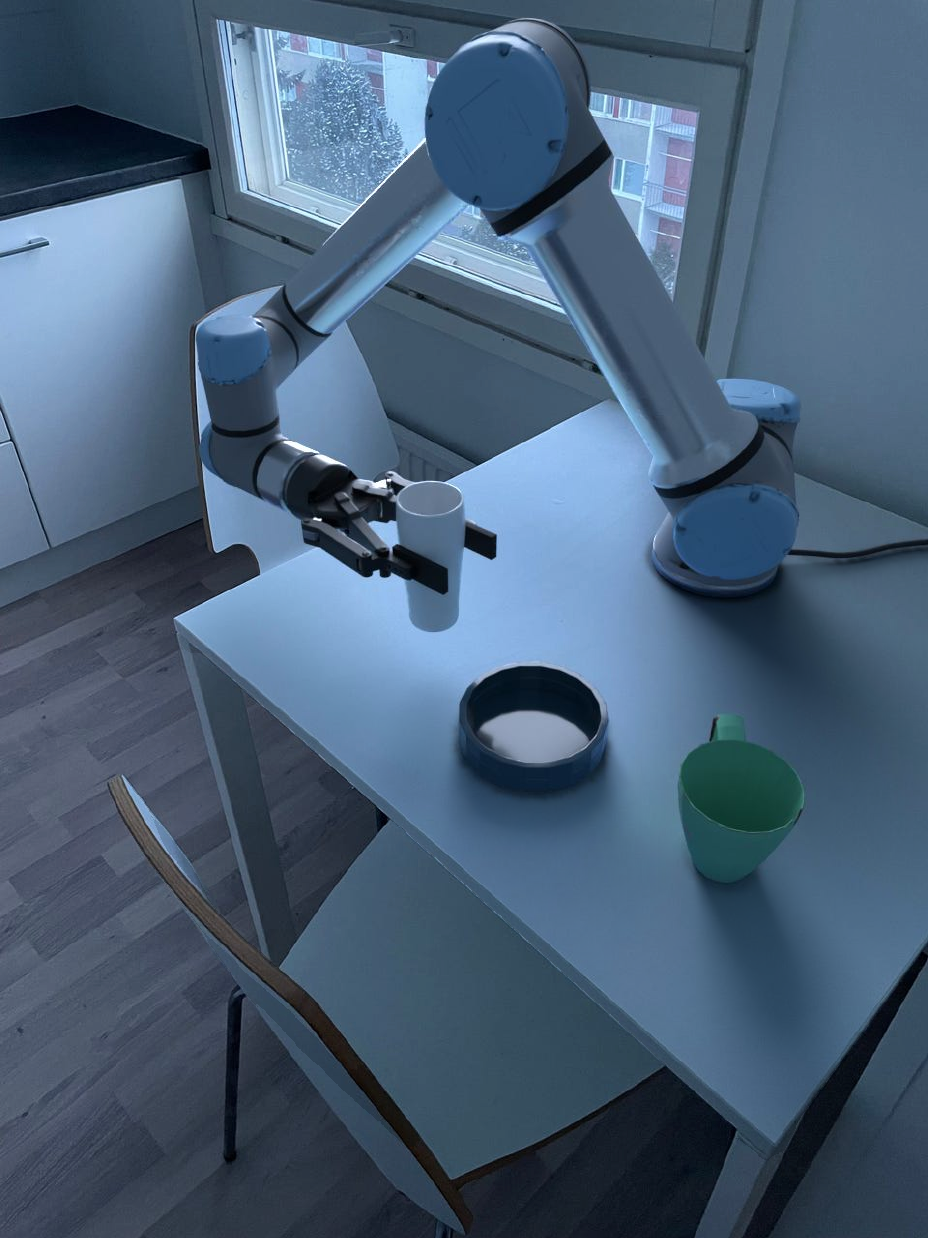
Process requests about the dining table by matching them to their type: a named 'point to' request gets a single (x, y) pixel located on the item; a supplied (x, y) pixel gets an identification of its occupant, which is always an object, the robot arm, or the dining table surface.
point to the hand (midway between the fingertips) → (470, 564)
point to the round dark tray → (533, 727)
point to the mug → (735, 801)
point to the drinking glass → (433, 548)
